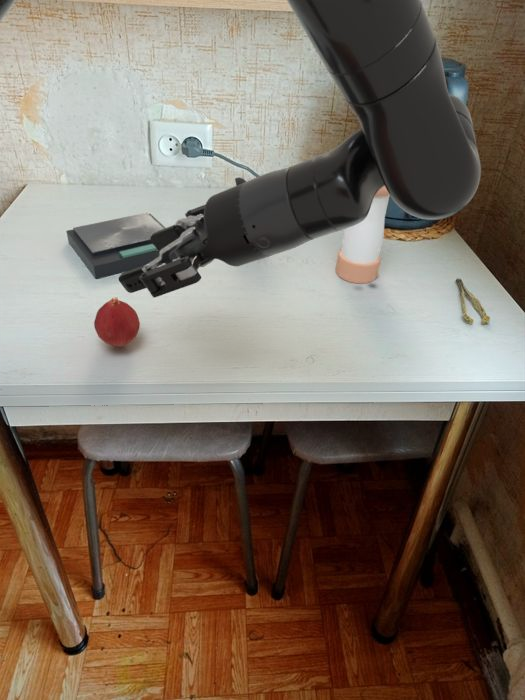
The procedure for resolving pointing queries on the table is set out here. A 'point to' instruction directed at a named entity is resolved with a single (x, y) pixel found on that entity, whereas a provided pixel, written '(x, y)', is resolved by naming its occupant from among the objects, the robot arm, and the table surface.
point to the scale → (116, 244)
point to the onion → (116, 323)
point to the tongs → (474, 300)
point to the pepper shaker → (364, 243)
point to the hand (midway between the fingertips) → (140, 262)
